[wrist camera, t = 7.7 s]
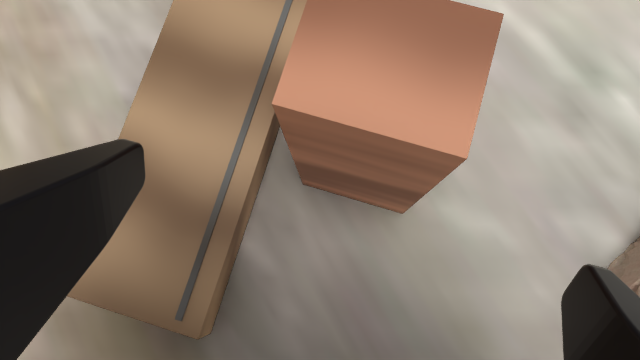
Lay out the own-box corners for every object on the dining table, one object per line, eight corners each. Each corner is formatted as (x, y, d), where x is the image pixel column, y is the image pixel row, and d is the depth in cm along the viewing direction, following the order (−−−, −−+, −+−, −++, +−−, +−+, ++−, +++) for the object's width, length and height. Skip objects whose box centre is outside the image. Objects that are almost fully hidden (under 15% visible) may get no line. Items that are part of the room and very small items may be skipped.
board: (210, 333, 21) (197, 340, 19) (82, 290, 22) (55, 292, 20) (345, -71, 25) (346, -102, 23) (233, -98, 26) (224, -130, 23)
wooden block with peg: (402, 213, 22) (467, 158, 11) (302, 184, 22) (271, 103, 12) (443, 63, 23) (536, -115, 12) (349, 38, 24) (359, -155, 13)
